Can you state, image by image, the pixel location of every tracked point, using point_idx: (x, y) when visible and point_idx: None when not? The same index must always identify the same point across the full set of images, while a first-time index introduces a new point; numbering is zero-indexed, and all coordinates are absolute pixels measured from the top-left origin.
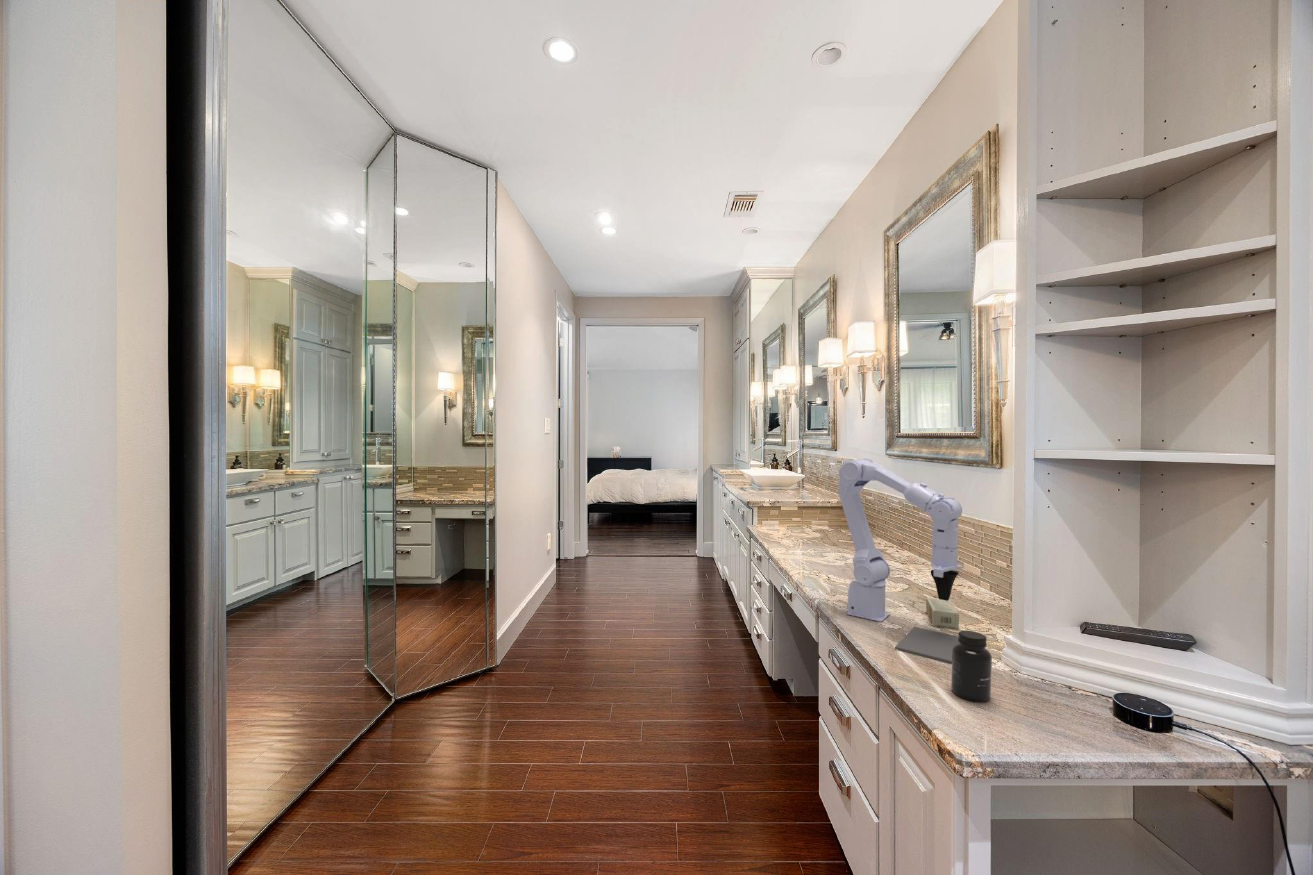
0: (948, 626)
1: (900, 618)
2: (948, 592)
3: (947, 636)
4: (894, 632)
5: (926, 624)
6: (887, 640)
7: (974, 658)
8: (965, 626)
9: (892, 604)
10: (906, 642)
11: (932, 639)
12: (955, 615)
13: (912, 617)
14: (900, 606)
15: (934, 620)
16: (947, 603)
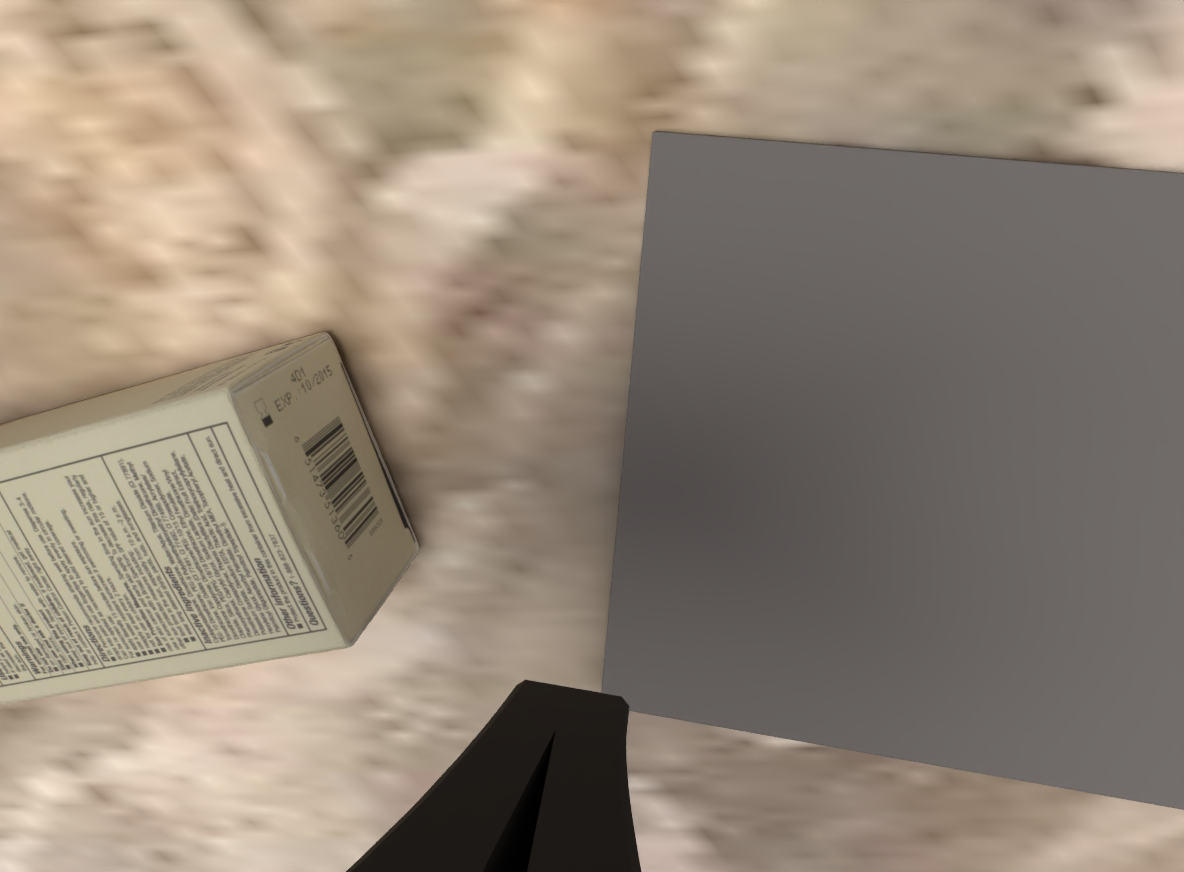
0: (365, 429)
1: (402, 787)
2: (634, 848)
3: (712, 421)
4: (814, 821)
5: (404, 602)
6: (1076, 865)
7: None
8: (185, 272)
9: (103, 840)
10: (1142, 754)
11: (907, 549)
12: (263, 414)
13: (302, 708)
14: (100, 791)
15: (394, 574)
16: None
